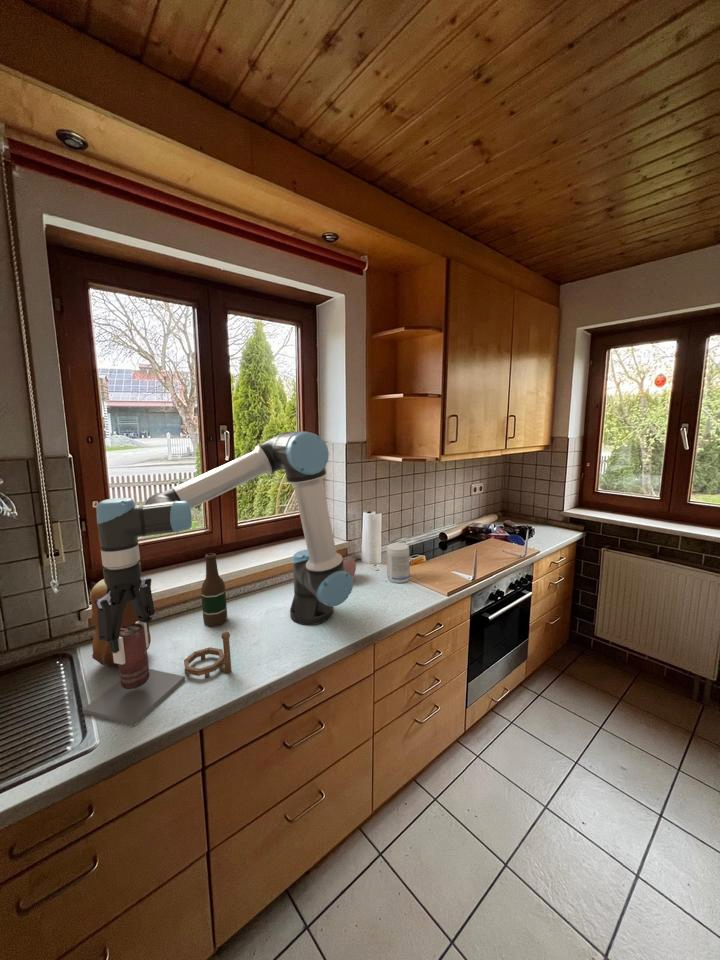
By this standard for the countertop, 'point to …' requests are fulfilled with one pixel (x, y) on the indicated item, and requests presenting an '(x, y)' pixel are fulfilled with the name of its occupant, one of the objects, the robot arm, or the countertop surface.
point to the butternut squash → (99, 647)
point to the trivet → (134, 698)
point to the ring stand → (213, 651)
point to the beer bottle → (213, 594)
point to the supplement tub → (398, 562)
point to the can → (134, 657)
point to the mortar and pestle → (350, 566)
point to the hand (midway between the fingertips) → (132, 654)
